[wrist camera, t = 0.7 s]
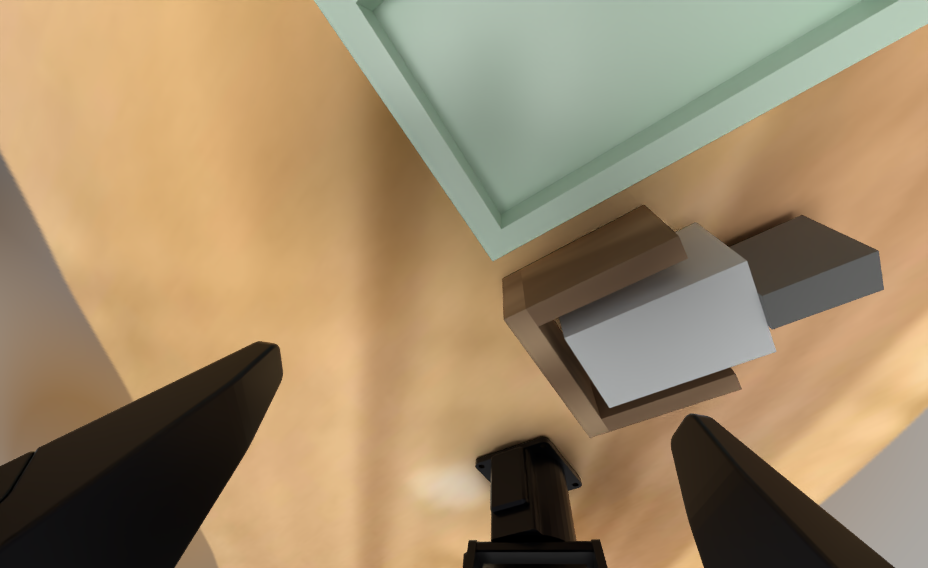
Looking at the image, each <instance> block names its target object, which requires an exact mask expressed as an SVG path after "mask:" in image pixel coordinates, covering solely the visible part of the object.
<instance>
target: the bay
mask: <svg viewBox="0 0 928 568" xmlns="http://www.w3.org/2000/svg"><path fill="white" fill-rule="evenodd" d="M686 259H688V257H687V254H686V252H685V249H684V247H683V245H682V242H681V240H680V237H679V235H677V234H676V233H675V232H674V231H673V230H672V229H671V228H670V227H668V226H667V225H666V224H665V223H664V222H663V221H662V220H661V219H659V218H658V217H657V216H656V215H655V214H654V213H653V212H652V211H650V210H649V209H648V208H647V207H646V206H645V205H643V206H641V207H639V208H637V209H635V210H633V211H631V212H629V213H627V214H626V215H624V216H622V217H620V218H618V219H616V220H614V221H612V222H610V223H608V224H606V225H604V226H603V227H601V228H599V229H597V230H595V231H593V232H591V233H589V234H587V235H585V236H583V237H581V238H580V239H578V240H576V241H574V242H572V243H570V244H568V245H566V246H564V247H562V248H560V249H559V250H557V251H555V252H553V253H551V254H549V255H547V256H545V257H543V258H541V259H539V260H537V261H536V262H534V263H532V264H530V265H528V266H526V267H524V268H522V269H520V270H518V271H516V272H514V273H513V274H511V275H509V276H507V277H505V278H503V279H502V282H503V313H504V321H505V322H506V323H507V325H508V326H509V328H510V329H511V330H512V332H513V333H514V334H515V336H516V337H517V338H518V340H519V341H520V343H521V344H522V345H523V347H524V348H525V349H526V351H527V352H528V354H529V355H530V356H531V358H532V359H533V360H534V362H535V363H536V365H537V366H538V367H539V369H540V370H541V371H542V373H543V374H544V376H545V377H546V378H547V380H548V381H549V382H550V384H551V385H552V387H553V388H554V389H555V391H556V392H557V393H558V395H559V396H560V398H561V399H562V400H563V402H564V403H565V404H566V406H567V407H568V409H569V410H570V411H571V413H572V414H573V415H574V417H575V418H576V420H577V421H578V422H579V424H580V425H581V426H582V428H583V429H584V431H585V432H586V433H587V435H588V436H589V437H590V438H591V437H595V436H598V435H601V434H604V433H607V432H610V431H613V430H616V429H619V428H623V427H626V426H629V425H632V424H635V423H638V422H641V421H644V420H647V419H651V418H654V417H657V416H660V415H663V414H666V413H669V412H672V411H675V410H678V409H682V408H685V407H688V406H691V405H694V404H697V403H700V402H703V401H706V400H710V399H713V398H716V397H719V396H722V395H725V394H728V393H731V392H734V391H738V390H741V389H742V388H741V386H740V383H739V381H738V378H737V376H736V374H735V373H734V371H733V370H732V369H731V368H727V369H724V370H721V371H718V372H715V373H712V374H709V375H706V376H703V377H700V378H697V379H694V380H691V381H688V382H685V383H682V384H679V385H676V386H673V387H670V388H667V389H665V390H662V391H659V392H656V393H653V394H650V395H647V396H644V397H641V398H638V399H635V400H632V401H629V402H626V403H623V404H620V405H617V406H614V407H611V408H609V407H608V405H607V403H606V402H605V400H604V399H603V397H602V396H601V394H600V393H599V391H598V390H597V388H596V386H595V385H594V383H593V382H592V380H591V379H590V377H589V376H588V374H587V373H586V371H585V369H584V368H583V366H582V365H581V363H580V362H579V360H578V359H577V357H576V356H575V354H574V352H573V351H572V349H571V348H570V346H569V345H568V343H567V342H566V340H565V339H564V335H563V333H562V332H561V330H560V329H559V327H558V326H557V324H556V322H555V321H554V319H556V318H558V317H560V316H563V315H565V314H567V313H569V312H571V311H574V310H576V309H578V308H580V307H582V306H585V305H587V304H589V303H591V302H593V301H596V300H598V299H600V298H602V297H605V296H607V295H609V294H611V293H613V292H616V291H618V290H620V289H622V288H624V287H627V286H629V285H631V284H633V283H635V282H638V281H640V280H642V279H644V278H646V277H649V276H651V275H653V274H655V273H657V272H660V271H662V270H664V269H666V268H668V267H671V266H673V265H675V264H677V263H679V262H682V261H684V260H686Z"/></svg>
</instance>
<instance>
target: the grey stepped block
mask: <svg viewBox="0 0 928 568" xmlns="http://www.w3.org/2000/svg"><path fill="white" fill-rule="evenodd" d="M675 233H676V234H677V235H679V237H680V240H681V242H682V245H683V247H684V249H685V252H686V254H687V257H688V259H686V260H684V261H682V262H679V263H677V264H675V265H673V266H671V267H668V268H666V269H664V270H662V271H660V272H657V273H655V274H653V275H651V276H649V277H646V278H644V279H642V280H640V281H638V282H635V283H633V284H631V285H629V286H627V287H624V288H622V289H620V290H618V291H616V292H613V293H611V294H609V295H607V296H605V297H602V298H600V299H598V300H596V301H593V302H591V303H589V304H587V305H585V306H582V307H580V308H578V309H576V310H574V311H571V312H569V313H567V314H565V315H563V316H560V317H559V319H560V323H561V327H562V331H563V335H564V339H565V340H566V342H567V343H568V345H569V346H570V348H571V349H572V351H573V352H574V354H575V356H576V357H577V359H578V360H579V362H580V363H581V365H582V366H583V368H584V369H585V371H586V373H587V374H588V376H589V377H590V379H591V380H592V382H593V383H594V385H595V386H596V388H597V390H598V391H599V393H600V394H601V396H602V397H603V399H604V400H605V402H606V403H607V405H608V407H609V408H611V407H614V406H617V405H620V404H623V403H626V402H629V401H632V400H635V399H638V398H641V397H644V396H647V395H650V394H653V393H656V392H659V391H662V390H665V389H667V388H670V387H673V386H676V385H679V384H682V383H685V382H688V381H691V380H694V379H697V378H700V377H703V376H706V375H709V374H712V373H715V372H718V371H721V370H724V369H727V368H730V367H732V366H735V365H738V364H741V363H744V362H747V361H750V360H753V359H756V358H759V357H762V356H765V355H768V354H771V353H774V352H776V349H775V346H774V343H773V340H772V337H771V334H770V330H769V327H770V328H771V329H775V328H778V327H781V326H783V325H786V324H789V323H792V322H795V321H797V320H800V319H803V318H806V317H809V316H811V315H814V314H817V313H820V312H823V311H825V310H828V309H831V308H834V307H837V306H839V305H842V304H845V303H848V302H851V301H853V300H856V299H859V298H862V297H864V296H867V295H870V294H873V293H876V292H878V291H881V290H884V286H883V279H882V272H881V265H880V257H879V251H878V250H876V249H874V248H872V247H869V246H867V245H865V244H863V243H861V242H859V241H857V240H855V239H852V238H850V237H848V236H846V235H844V234H842V233H840V232H837V231H835V230H833V229H831V228H829V227H827V226H825V225H822V224H820V223H818V222H816V221H814V220H812V219H810V218H807V217H805V216H803V215H801V216H798V217H796V218H794V219H792V220H789V221H787V222H785V223H782V224H780V225H778V226H776V227H773V228H771V229H769V230H767V231H764V232H762V233H760V234H758V235H755V236H753V237H751V238H749V239H746V240H744V241H742V242H739V243H737V244H735V245H733V246H730V247H728V246H727V245H725V244H724V243H723V242H721V241H720V240H719V239H717V238H716V237H715V236H713V235H712V234H711V233H709V232H708V231H707V230H705V229H704V228H703V227H702V226H700V225H699V224H698V223H696V222H695V223H693V224H691V225H689V226H687V227H685V228H683V229H681V230H679V231H676V232H675ZM768 326H769V327H768Z"/></svg>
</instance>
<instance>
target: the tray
mask: <svg viewBox="0 0 928 568" xmlns="http://www.w3.org/2000/svg"><path fill="white" fill-rule="evenodd" d="M314 1H315V3H316V4H317V6H318V7H319V8H320V10H321V11H322V13H323V14H324V16H325V17H326V19H327V20H328V22H329V23H330V25H331V26H332V27H333V29H334V30H335V32H336V33H337V35H338V36H339V38H340V39H341V41H342V42H343V44H344V45H345V46H346V48H347V49H348V51H349V52H350V54H351V55H352V57H353V58H354V60H355V61H356V62H357V64H358V65H359V67H360V68H361V70H362V71H363V73H364V74H365V76H366V77H367V79H368V80H369V81H370V83H371V84H372V86H373V87H374V89H375V90H376V92H377V93H378V95H379V96H380V98H381V99H382V100H383V102H384V103H385V105H386V106H387V108H388V109H389V111H390V112H391V114H392V115H393V117H394V118H395V119H396V121H397V122H398V124H399V125H400V127H401V128H402V130H403V131H404V133H405V134H406V136H407V137H408V138H409V140H410V141H411V143H412V144H413V146H414V147H415V149H416V150H417V152H418V153H419V155H420V156H421V157H422V159H423V160H424V162H425V163H426V165H427V166H428V168H429V169H430V171H431V172H432V174H433V175H434V176H435V178H436V179H437V181H438V182H439V184H440V185H441V187H442V188H443V190H444V191H445V193H446V194H447V195H448V197H449V198H450V200H451V201H452V203H453V204H454V206H455V207H456V209H457V210H458V212H459V213H460V214H461V216H462V217H463V219H464V220H465V222H466V223H467V225H468V226H469V228H470V229H471V231H472V232H473V233H474V235H475V236H476V238H477V239H478V241H479V242H480V244H481V245H482V247H483V248H484V250H485V251H486V252H487V254H488V255H489V257H490V258H491V260H492V261H494V260H496V259H498V258H500V257H502V256H504V255H505V254H507V253H509V252H511V251H513V250H515V249H516V248H518V247H520V246H522V245H524V244H525V243H527V242H529V241H531V240H533V239H535V238H536V237H538V236H540V235H542V234H544V233H546V232H547V231H549V230H551V229H553V228H555V227H557V226H558V225H560V224H562V223H564V222H566V221H568V220H569V219H571V218H573V217H575V216H577V215H579V214H580V213H582V212H584V211H586V210H588V209H590V208H591V207H593V206H595V205H597V204H599V203H601V202H602V201H604V200H606V199H608V198H610V197H611V196H613V195H615V194H617V193H619V192H621V191H622V190H624V189H626V188H628V187H630V186H632V185H633V184H635V183H637V182H639V181H641V180H643V179H644V178H646V177H648V176H650V175H652V174H654V173H655V172H657V171H659V170H661V169H663V168H665V167H666V166H668V165H670V164H672V163H674V162H676V161H677V160H679V159H681V158H683V157H685V156H687V155H688V154H690V153H692V152H694V151H696V150H698V149H699V148H701V147H703V146H705V145H707V144H708V143H710V142H712V141H714V140H716V139H718V138H719V137H721V136H723V135H725V134H727V133H729V132H730V131H732V130H734V129H736V128H738V127H740V126H741V125H743V124H745V123H747V122H749V121H751V120H752V119H754V118H756V117H758V116H760V115H762V114H763V113H765V112H767V111H769V110H771V109H773V108H774V107H776V106H778V105H780V104H782V103H784V102H785V101H787V100H789V99H791V98H793V97H794V96H796V95H798V94H800V93H802V92H804V91H805V90H807V89H809V88H811V87H813V86H815V85H816V84H818V83H820V82H822V81H824V80H826V79H827V78H829V77H831V76H833V75H835V74H837V73H838V72H840V71H842V70H844V69H846V68H848V67H849V66H851V65H853V64H855V63H857V62H859V61H860V60H862V59H864V58H866V57H868V56H870V55H871V54H873V53H875V52H877V51H879V50H880V49H882V48H884V47H886V46H888V45H890V44H891V43H893V42H895V41H897V40H899V39H901V38H902V37H904V36H906V35H908V34H910V33H912V32H913V31H915V30H917V29H919V28H921V27H923V26H924V25H926V24H928V0H314Z"/></svg>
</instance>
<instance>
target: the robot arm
mask: <svg viewBox="0 0 928 568" xmlns="http://www.w3.org/2000/svg"><path fill="white" fill-rule="evenodd" d="M282 376H283V368H282V361H281V354H280V348H279V346H278V345H277V344H274V343H268V342H262V341H258V342H255V343H253V344H251V345H249V346H247V347H245V348H242V349H240V350H238V351H236V352H234V353H232V354H230V355H228V356H226V357H224V358H222V359H220V360H218V361H216V362H214V363H212V364H210V365H208V366H205V367H203V368H201V369H199V370H197V371H195V372H193V373H191V374H189V375H187V376H185V377H183V378H181V379H179V380H177V381H175V382H173V383H171V384H168V385H166V386H164V387H162V388H160V389H158V390H156V391H154V392H152V393H150V394H148V395H146V396H144V397H142V398H140V399H138V400H136V401H134V402H131V403H130V404H128V405H125V406H123V407H121V408H119V409H117V410H115V411H113V412H111V413H109V414H107V415H105V416H103V417H101V418H99V419H97V420H94V421H92V422H91V423H88V424H86V425H84V426H82V427H80V428H78V429H76V430H74V431H72V432H70V433H68V434H66V435H64V436H62V437H60V438H57V439H55V440H53V441H51V442H49V443H47V444H45V445H43V446H41V447H39V448H38V449H37V450H36V451H35V452H34V451H32V452H28V453H26V454H24V455H22V456H20V457H18V458H16V459H14V460H12V461H10V462H8V463H6V464H4V465H2V466H0V568H175V566H176V564H177V563H178V561H179V560H180V558H181V556H182V555H183V553H184V552H185V550H186V548H187V547H188V545H189V544H190V542H191V540H192V539H193V537H194V535H195V534H196V532H197V531H198V529H199V528H200V526H201V524H202V523H203V521H204V519H205V518H206V516H207V515H208V513H209V511H210V510H211V508H212V507H213V505H214V503H215V502H216V500H217V499H218V497H219V495H220V494H221V492H222V490H223V489H224V487H225V486H226V484H227V482H228V481H229V479H230V478H231V476H232V474H233V473H234V471H235V470H236V468H237V466H238V465H239V463H240V461H241V460H242V458H243V457H244V455H245V453H246V451H247V450H248V448H249V446H250V444H251V442H252V440H253V438H254V436H255V434H256V432H257V430H258V428H259V426H260V424H261V422H262V420H263V418H264V416H265V414H266V412H267V410H268V408H269V406H270V404H271V402H272V399H273V397H274V395H275V393H276V391H277V389H278V387H279V385H280V383H281V380H282ZM671 450H672V454H673V458H674V463H675V467H676V471H677V475H678V480H679V484H680V488H681V492H682V497H683V501H684V505H685V509H686V513H687V517H688V520H689V524H690V527H691V530H692V533H693V536H694V539H695V542H696V545H697V548H698V551H699V554H700V557H701V560H702V563H703V566H704V568H895V567H893V566H892V565H891V564H890V563H888V562H887V561H886V560H885V559H884V558H882V557H881V556H880V555H879V554H878V553H876V552H875V551H874V550H873V549H871V548H870V547H869V546H868V545H867V544H865V543H864V542H863V541H862V540H860V539H859V538H858V537H857V536H855V535H854V534H853V533H852V532H850V531H849V530H848V529H847V528H846V527H844V526H843V525H842V524H841V523H840V522H838V521H837V520H836V519H835V518H834V517H832V516H831V515H830V514H828V513H827V512H826V511H825V510H824V509H823V508H821V507H820V506H819V505H818V504H816V503H815V502H814V501H813V500H812V499H810V498H809V497H808V496H807V495H805V494H804V493H803V492H802V491H801V490H799V489H798V488H797V487H796V486H794V485H793V484H792V483H791V482H790V481H788V480H787V479H786V478H785V477H783V476H782V475H781V474H780V473H779V472H777V471H776V470H775V469H774V468H772V467H771V466H770V465H769V464H768V463H766V462H765V461H764V460H763V459H761V458H760V457H759V456H758V455H757V454H755V453H754V452H753V451H752V450H750V449H749V448H748V447H747V446H746V445H744V444H743V443H742V442H741V441H739V440H738V439H737V438H736V437H735V436H733V435H732V434H731V433H730V432H728V431H727V430H726V429H725V428H724V427H722V426H721V425H720V424H719V423H717V422H716V421H715V420H714V419H712V418H711V417H708V416H704V415H698V414H689V415H687V416H686V417H685V418H684V420H683V421H682V423H681V424H680V426H679V427H678V429H677V430H676V432H675V433H674V435H673V436H672V439H671ZM475 467H476V468H477V469H478V470H479V471H480V472H481V473H482V474H483V475H484V476H485V477H486V478H487V479H488V480H489V481H490V483H491V490H490V509H491V542H477V540H469V543H468V550H467V552H466V553H465V554H464V559H463V568H607V564H606V560H605V557H604V553H603V549H602V546H601V542H600V539H598V540H591V541H576V535H575V529H574V523H573V518H572V512H571V506H570V500H569V494H568V491H569V490H573V489H576V488H579V487H581V486H582V483H581V479H580V477H579V476H578V475H577V474H576V472H575V471H574V470H573V469H572V467H571V466H570V465H569V464H568V462H567V461H566V460H565V459H564V458H563V456H562V455H561V454H560V453H559V451H558V450H557V449H556V448H555V446H554V445H553V444H552V443H551V441H550V440H549V439H548V438H545V437H541V438H537V439H534V440H532V441H529V442H526V443H523V444H520V445H517V446H514V447H511V448H508V449H505V450H502V451H499V452H496V453H493V454H490V455H487V456H484V457H481V458H478V459H477V460H476V465H475Z"/></svg>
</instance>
